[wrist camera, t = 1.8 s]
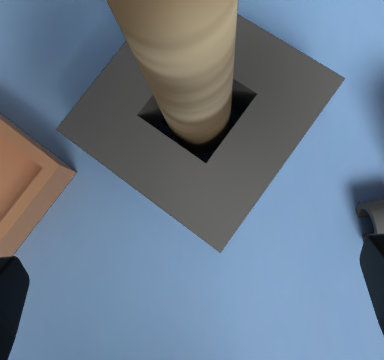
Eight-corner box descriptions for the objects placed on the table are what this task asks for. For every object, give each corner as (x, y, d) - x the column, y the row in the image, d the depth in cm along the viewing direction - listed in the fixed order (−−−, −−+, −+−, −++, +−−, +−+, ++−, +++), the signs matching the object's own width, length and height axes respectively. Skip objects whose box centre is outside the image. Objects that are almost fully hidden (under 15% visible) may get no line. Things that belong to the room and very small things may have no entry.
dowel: (241, 119, 23) (268, -49, 10) (207, 166, 23) (183, 61, 9) (194, 89, 24) (156, -110, 10) (161, 133, 24) (74, -10, 10)
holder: (324, 105, 23) (345, 78, 19) (220, 249, 22) (220, 252, 18) (183, 18, 25) (176, -23, 21) (83, 147, 24) (55, 129, 20)
